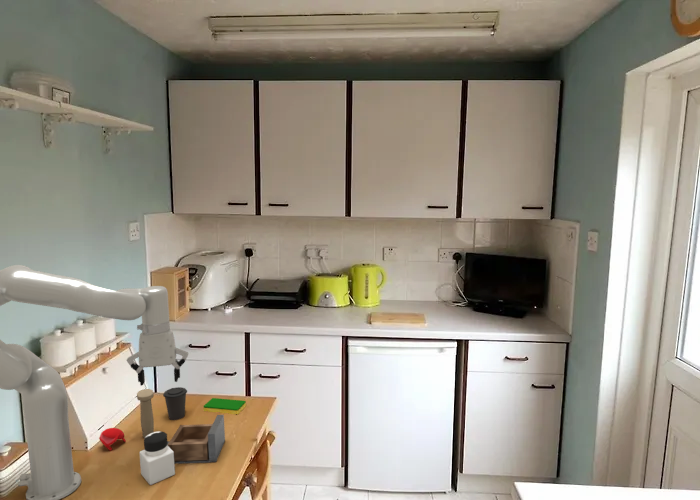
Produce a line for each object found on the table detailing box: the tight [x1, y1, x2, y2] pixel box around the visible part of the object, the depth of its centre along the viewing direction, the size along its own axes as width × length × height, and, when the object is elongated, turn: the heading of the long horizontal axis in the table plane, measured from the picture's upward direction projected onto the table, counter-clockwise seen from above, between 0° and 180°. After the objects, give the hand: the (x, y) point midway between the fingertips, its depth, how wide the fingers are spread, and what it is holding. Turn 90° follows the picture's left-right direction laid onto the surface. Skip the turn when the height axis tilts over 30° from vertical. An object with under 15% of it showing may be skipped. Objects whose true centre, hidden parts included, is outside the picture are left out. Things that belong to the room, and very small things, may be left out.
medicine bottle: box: [139, 430, 176, 486], centre depth 129 cm, size 7×7×12 cm
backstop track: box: [167, 414, 226, 465], centre depth 140 cm, size 21×12×9 cm, turn 92°
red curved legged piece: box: [98, 427, 127, 451], centre depth 144 cm, size 8×6×6 cm
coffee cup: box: [162, 386, 188, 421], centre depth 163 cm, size 8×8×10 cm
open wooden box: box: [168, 423, 213, 461], centre depth 140 cm, size 11×11×5 cm
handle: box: [136, 388, 155, 438], centre depth 149 cm, size 5×6×15 cm
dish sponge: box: [202, 397, 247, 415], centre depth 169 cm, size 7×14×2 cm, turn 78°
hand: (159, 381), depth 139 cm, fingers open, 9 cm apart
